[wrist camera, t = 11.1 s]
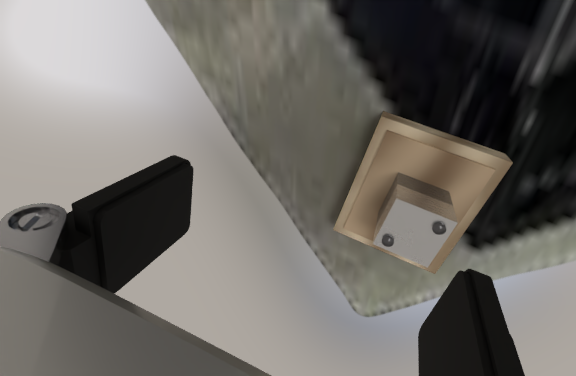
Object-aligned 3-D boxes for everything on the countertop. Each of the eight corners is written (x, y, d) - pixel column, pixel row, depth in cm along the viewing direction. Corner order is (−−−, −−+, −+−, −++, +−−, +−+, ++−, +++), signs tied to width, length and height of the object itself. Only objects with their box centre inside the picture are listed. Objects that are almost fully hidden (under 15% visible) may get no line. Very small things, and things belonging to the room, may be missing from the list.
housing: (449, 191, 29) (458, 224, 24) (424, 231, 32) (427, 269, 27) (398, 172, 30) (396, 199, 25) (378, 212, 33) (372, 245, 27)
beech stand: (505, 153, 29) (514, 164, 27) (433, 259, 36) (435, 276, 34) (383, 111, 31) (381, 117, 29) (337, 219, 38) (332, 231, 36)
